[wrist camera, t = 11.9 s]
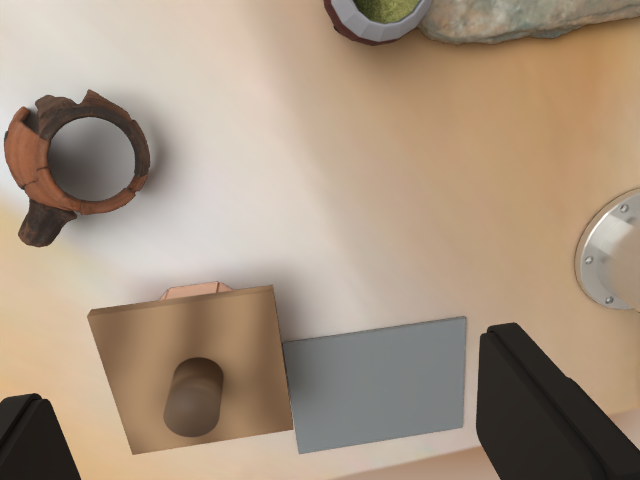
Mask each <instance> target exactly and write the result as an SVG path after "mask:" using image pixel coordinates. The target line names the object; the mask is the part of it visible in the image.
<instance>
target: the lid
mask: <svg viewBox="0 0 640 480" xmlns="http://www.w3.org/2000/svg"><path fill="white" fill-rule="evenodd" d="M87 318H88V321H89V324H90V327H91V330H92V333H93V336H94V340H95V343H96V346H97V349H98V352H99V355H100V358H101V361H102V364H103V367H104V370H105V373H106V376H107V379H108V382H109V385H110V388H111V391H112V394H113V397H114V400H115V403H116V406H117V409H118V412H119V415H120V418H121V421H122V424H123V427H124V430H125V433H126V436H127V439H128V442H129V445H130V448H131V451H132V454H133V455H135V454H141V453H148V452H154V451H160V450H167V449H173V448H179V447H186V446H192V445H198V444H205V443H211V442H217V441H224V440H230V439H236V438H243V437H249V436H255V435H262V434H268V433H274V432H281V431H287V430H293V419H292V412H291V405H290V399H289V392H288V385H287V378H286V372H285V365H284V358H283V351H282V345H281V338H280V331H279V324H278V318H277V311H276V304H275V297H274V291H273V285H269V286H261V287H254V288H246V289H239V290H232V291H224V292H217V293H210V294H202V295H195V296H188V297H180V298H173V299H166V300H158V301H151V302H143V303H136V304H129V305H121V306H114V307H107V308H99V309H92V310H91V311H90V312H89V314H88V315H87Z"/></svg>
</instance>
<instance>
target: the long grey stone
mask: <svg viewBox="0 0 640 480" xmlns="http://www.w3.org/2000/svg"><path fill="white" fill-rule="evenodd" d="M638 16H640V0H432V1H431V5H430V8H429V9H428V11H427V12H426V14H425V15H424V16H423V18H422V19H421V21H420V22H419V24H418V25H417V26H416V27H417V28H419V29H420V30H421V32H422V33H423V34H424V35H425V36H427V37H428V38H429V39H431V40H436V41H442V42H443V43H448V44H455V45H456V46H458V45H459V44H461V43H466V42H468V43H471V42H483V43H486V44H492V45H494V44H496V43H501V42H504V41H507V40H513V39H519V38H522V37H526V36H530V37H536V38H552V39H553V38H555V37H558V36H560V35H561V34H566V33H568V32H570V31H571V30H573V29H579V28H580V27H582V26H584V25H586V24H597V23H602V22H607V21H615V20H619V19H629V18H633V17H638Z"/></svg>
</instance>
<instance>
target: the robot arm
mask: <svg viewBox="0 0 640 480" xmlns="http://www.w3.org/2000/svg"><path fill="white" fill-rule="evenodd" d="M575 272H576V276H577V280H578V282H579V284H580V286H581V288H582V290H583V291H584V292H585V293H586V294H587V295H588V296H589V297H590V298H592V299H593V300H594V301H596V302H597V303H599V304H600V305H602V306H604V307H607V308H612V309H616V310H629V309H635V310H636V311H638V312H639V313H640V188H638V189H635V190H632V191H629V192H627V193H625V194H623V195H621V196H619V197H617V198H616V199H615V200H613V201H612V202H610V203H609V204H608V205H606V206H605V207H604V208H603V209H602V210H601V211H600V212H599V213H598V214H597V215H596V216H595V217H594V218H593V220H592V221H591V222H590V224H589V225H588V226H587V228H586V230H585V231H584V233H583V235H582V237H581V239H580V242H579V245H578V247H577V251H576V257H575ZM476 430H477V435H478V438H479V441H480V443H481V445H482V447H483V448H484V450H485V452H486V454H487V456H488V457H489V459H490V461H491V463H492V465H493V467H494V468H495V470H496V472H497V474H498V476H499V477H500V479H501V480H640V451H639V449H638V448H637V447H636V446H635V445H634V444H633V443H632V442H631V441H630V440H629V439H628V438H627V437H626V436H625V434H624V433H622V431H621V430H620V429H619V428H618V427H617V426H616V425H615V424H614V423H613V422H612V421H611V420H610V418H609V417H608V416H607V415H606V414H605V413H604V412H603V411H602V410H601V409H600V408H599V407H598V406H597V404H596V403H595V402H594V401H593V400H592V399H591V398H590V397H589V396H588V395H587V394H586V393H585V392H584V391H583V389H582V388H581V387H580V386H579V385H578V384H577V383H576V382H575V381H573V380H572V379H571V378H568V377H566V376H565V375H564V374H563V372H562V371H561V370H560V369H559V368H558V367H557V366H556V365H555V364H554V363H553V362H552V361H551V359H550V358H549V357H548V356H547V355H546V354H545V353H544V352H543V351H542V350H541V349H540V348H539V346H538V345H537V344H536V343H535V342H534V341H533V340H532V339H531V338H530V337H529V336H528V335H527V333H526V332H525V331H524V330H523V329H522V328H521V327H520V326H519V325H518V324H517V323H507V324H500V325H493V326H490V327H488V329H487V333H484V334H482V335H481V336H480V348H479V370H478V392H477V414H476ZM0 480H81V477H80V475H79V472H78V470H77V467H76V465H75V462H74V460H73V457H72V455H71V452H70V450H69V447H68V445H67V442H66V440H65V437H64V435H63V432H62V430H61V427H60V425H59V422H58V420H57V417H56V415H55V412H54V410H53V407H52V405H51V403H50V401H49V400H48V399H42V397H41V396H40V395H39V394H36V393H33V394H26V395H19V396H12V397H7V398H5V399H3V400H2V401H1V403H0Z"/></svg>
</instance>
